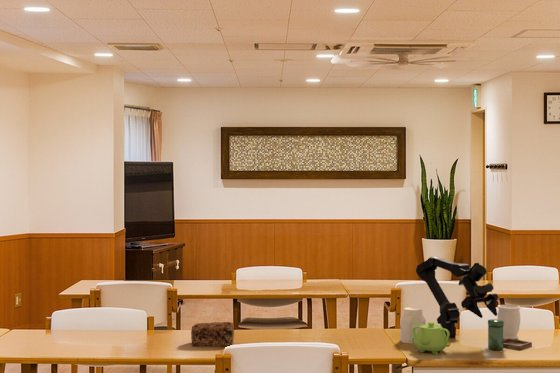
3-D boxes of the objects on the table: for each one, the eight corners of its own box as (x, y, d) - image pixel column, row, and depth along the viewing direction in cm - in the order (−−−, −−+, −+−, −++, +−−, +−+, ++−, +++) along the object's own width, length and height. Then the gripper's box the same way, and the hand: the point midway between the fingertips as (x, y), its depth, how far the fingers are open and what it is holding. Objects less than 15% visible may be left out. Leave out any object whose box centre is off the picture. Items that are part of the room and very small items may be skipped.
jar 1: (403, 343, 365) (403, 310, 365) (398, 339, 375) (398, 307, 375) (428, 343, 366) (428, 310, 366) (422, 338, 376) (422, 306, 376)
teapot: (453, 355, 342) (454, 326, 341) (421, 356, 340) (421, 326, 340) (441, 347, 358) (441, 319, 357) (410, 348, 356) (410, 319, 356)
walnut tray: (496, 347, 358) (496, 342, 358) (508, 343, 366) (508, 338, 366) (519, 351, 350) (520, 346, 350) (531, 347, 358) (531, 342, 358)
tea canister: (489, 351, 348) (490, 322, 348) (486, 347, 355) (486, 319, 354) (505, 351, 348) (505, 322, 348) (501, 347, 355) (501, 319, 354)
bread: (234, 342, 368) (234, 320, 368) (232, 347, 358) (232, 324, 358) (193, 342, 369) (193, 320, 369) (190, 347, 358) (190, 324, 358)
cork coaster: (487, 352, 347) (487, 351, 347) (482, 348, 356) (482, 347, 356) (508, 352, 347) (508, 351, 347) (503, 348, 356) (503, 347, 356)
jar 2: (521, 340, 372) (521, 308, 372) (498, 339, 374) (498, 307, 374) (519, 336, 382) (519, 304, 382) (496, 335, 384) (496, 303, 384)
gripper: (467, 278, 358) (484, 308, 349) (496, 275, 368) (514, 304, 359) (453, 293, 365) (470, 322, 356) (482, 289, 375) (499, 318, 366)
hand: (489, 316), depth 359 cm, fingers open, 9 cm apart
